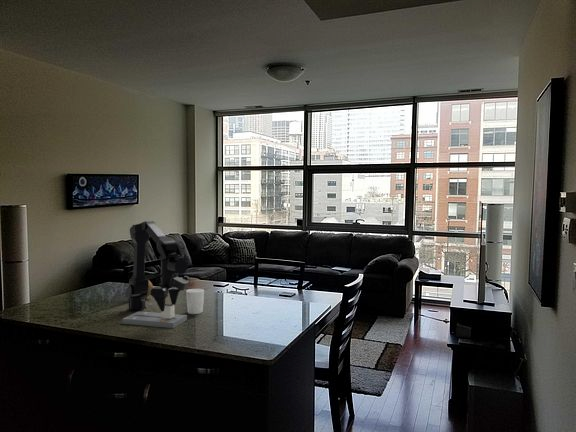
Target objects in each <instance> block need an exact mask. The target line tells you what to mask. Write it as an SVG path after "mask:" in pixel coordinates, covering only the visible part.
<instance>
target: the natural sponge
mask: <svg viewBox="0 0 576 432" xmlns="http://www.w3.org/2000/svg"><path fill="white" fill-rule="evenodd" d="M148 281H149V282H148V286H149V288H148V294H147V296H144V299H145V300H146V298H148V297H149V296H151V295H150V290H151V289H152V288H154V287H155V286H154V285H153V283H152V282H151V281H150V280H149V279H148Z"/></svg>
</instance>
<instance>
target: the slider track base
mask: <svg viewBox="0 0 576 432" xmlns="http://www.w3.org/2000/svg"><path fill="white" fill-rule="evenodd" d="M187 320H188V315H187V314H177V313H175V317H173V318H171V319H167V318H162V312H155V311H154V312H153V311H150V312H149V311H142V310H141V311H135V312H134V313H131V314H130V315H128V316H125V317H124V318H122V319H121V321H122V324H123V325H133V326H134V325H135V326H145V327H147V326H148V327H158V328H166V329H167V328H168V329H169V328H170V329H174V328H176V327H177V326H179V325H180V324H182V323H184V322H185V321H187Z"/></svg>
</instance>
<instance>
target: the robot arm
mask: <svg viewBox="0 0 576 432" xmlns="http://www.w3.org/2000/svg"><path fill="white" fill-rule="evenodd" d="M129 234H130V239H131V241H132V242H133V266H132V269H133V271H132V275H131V277H130V279H129V281H128V286H127V288H126V289H125V292H124V296H125V298H127V299H128V308H126V311H131V312H139V311H141V312H142V311H143V310H145V309H147V306H146V298H145V299H144V296H147V294H148V288H149V286H148V282H149V281H150V280H149V279H147V277H146V276H145V265H146V244H147V243H148V241H149V239H150V238H151V239H152V240H153V242H154V243H156V249H157V252H158V254H159V255H160V256H159V257H158V260H160V273H158V277H160V283H159V284H158V286H153V287H154V288H152V289H151V290H150V295H149V296H151V297H152V298H153V299H154V300H155V302H156V304H157V305H158V308H159V309H160V312H162V311H164V309H165V304H166V299H167V298H168V297H169V298H170V302H171V303H170V304H172V305H175V306H176V305H177V300H178V297H179V295H180V292H182V291H185V290H188V289H187V288H188V286H190V285H191V282H190V277H189V276H188V275H185V276H183V277H182V276H181V277H180V276H179V275H183V274H185V273H186V272H187V270H188V263H187V261H186V260H184V257H183V255H182V251H181V249H180V246H179V244H178V242H177V241H176V240H175V239H173V238H172V237H169V236H166V234H165V233H164V232H163V231H162V230H161V229H160V228H159V227H158V226H157V223H156V222H155V221H153V220H149V221H148V220H147V221H142V222H141V223H136V224H132V225H131V227H130V228H129ZM148 280H149V281H148Z"/></svg>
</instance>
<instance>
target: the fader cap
mask: <svg viewBox="0 0 576 432" xmlns="http://www.w3.org/2000/svg"><path fill="white" fill-rule="evenodd" d="M175 306H176V304H175V305H172V303H170V304H169V303H165V309H164V311H161V313H162V318H167V319H171V318H173V317H175V314H176V313H175V310H176V309H175Z"/></svg>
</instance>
